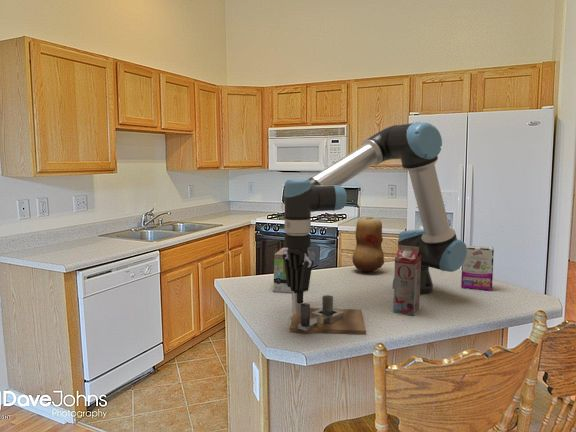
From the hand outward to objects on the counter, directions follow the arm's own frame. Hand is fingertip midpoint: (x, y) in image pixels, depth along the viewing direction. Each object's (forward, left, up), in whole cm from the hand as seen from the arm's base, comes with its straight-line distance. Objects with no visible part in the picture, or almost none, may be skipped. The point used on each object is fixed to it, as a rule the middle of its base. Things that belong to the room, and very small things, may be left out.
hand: (297, 312), depth 127 cm
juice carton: (-35, -19, -5) cm, 40 cm away
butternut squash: (-27, -71, -5) cm, 76 cm away
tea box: (+6, -44, -5) cm, 45 cm away
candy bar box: (-67, -49, -5) cm, 83 cm away
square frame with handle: (-6, -3, -4) cm, 8 cm away
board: (-9, -7, -5) cm, 12 cm away
